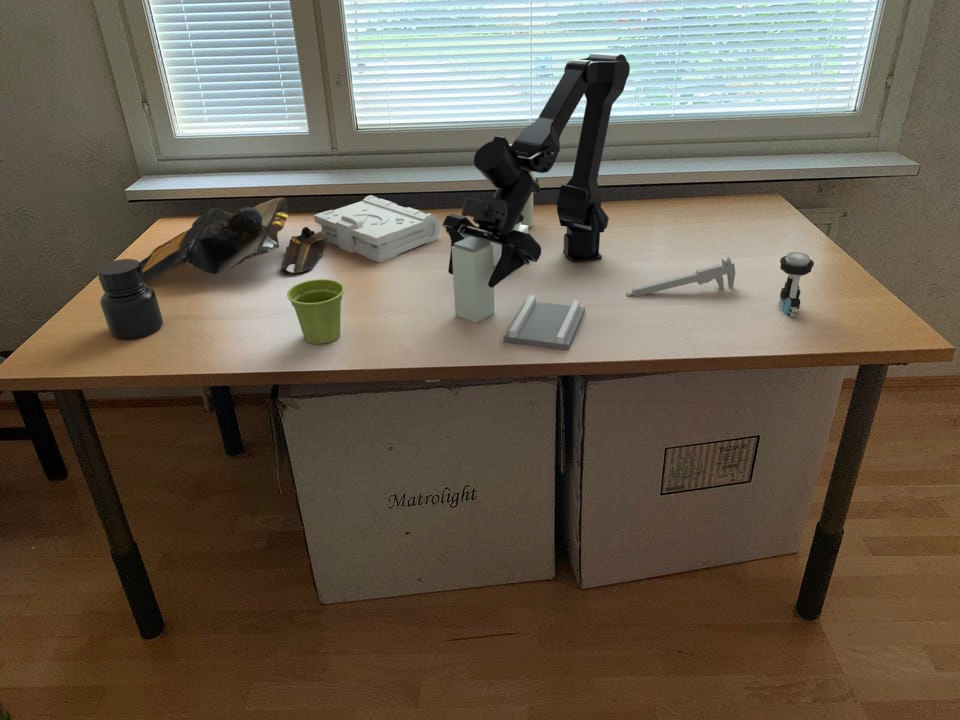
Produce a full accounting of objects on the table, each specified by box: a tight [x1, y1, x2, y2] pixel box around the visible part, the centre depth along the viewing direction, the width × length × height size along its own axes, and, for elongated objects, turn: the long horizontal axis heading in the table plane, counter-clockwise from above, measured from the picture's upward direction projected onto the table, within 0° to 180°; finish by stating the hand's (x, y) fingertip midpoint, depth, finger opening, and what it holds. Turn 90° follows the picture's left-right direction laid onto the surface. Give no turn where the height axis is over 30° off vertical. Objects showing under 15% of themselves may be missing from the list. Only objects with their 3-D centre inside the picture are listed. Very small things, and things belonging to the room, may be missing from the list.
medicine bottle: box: [484, 221, 529, 267], centre depth 145 cm, size 7×7×12 cm
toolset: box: [140, 197, 327, 283], centre depth 151 cm, size 40×20×27 cm
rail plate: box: [503, 294, 586, 351], centre depth 122 cm, size 14×11×2 cm
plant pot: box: [286, 278, 345, 345], centre depth 120 cm, size 9×9×9 cm
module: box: [452, 236, 495, 324], centre depth 125 cm, size 5×5×14 cm
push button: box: [777, 251, 815, 317], centre depth 123 cm, size 7×5×10 cm
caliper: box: [625, 256, 736, 297], centre depth 132 cm, size 20×1×6 cm, turn 97°
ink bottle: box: [96, 258, 164, 340], centre depth 124 cm, size 10×9×12 cm
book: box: [313, 194, 441, 264], centre depth 162 cm, size 19×28×8 cm
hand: (469, 280), depth 124 cm, fingers open, 9 cm apart
